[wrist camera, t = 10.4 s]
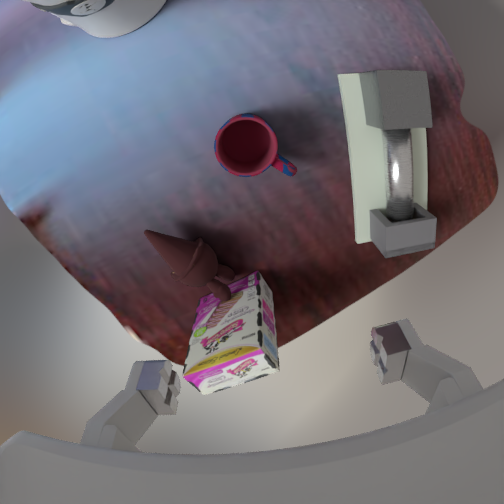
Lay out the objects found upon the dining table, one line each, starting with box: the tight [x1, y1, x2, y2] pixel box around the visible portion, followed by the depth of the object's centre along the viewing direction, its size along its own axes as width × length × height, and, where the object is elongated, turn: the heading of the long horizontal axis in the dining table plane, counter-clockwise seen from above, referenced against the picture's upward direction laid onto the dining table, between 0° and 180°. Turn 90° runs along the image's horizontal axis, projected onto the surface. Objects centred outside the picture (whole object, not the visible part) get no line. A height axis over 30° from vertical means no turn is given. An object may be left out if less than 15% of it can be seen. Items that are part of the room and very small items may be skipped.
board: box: [338, 73, 428, 244], centre depth 37 cm, size 24×12×1 cm, turn 11°
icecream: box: [144, 230, 235, 302], centre depth 41 cm, size 7×7×15 cm
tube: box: [381, 128, 414, 223], centre depth 36 cm, size 15×4×4 cm, turn 11°
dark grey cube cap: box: [359, 70, 432, 130], centre depth 30 cm, size 7×7×6 cm
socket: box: [369, 203, 437, 258], centre depth 39 cm, size 4×8×6 cm, turn 101°
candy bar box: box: [182, 271, 279, 395], centre depth 41 cm, size 11×5×16 cm, turn 120°
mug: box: [214, 114, 297, 177], centre depth 34 cm, size 7×10×7 cm
